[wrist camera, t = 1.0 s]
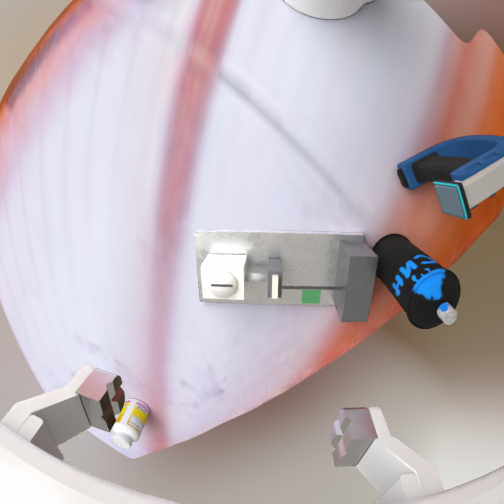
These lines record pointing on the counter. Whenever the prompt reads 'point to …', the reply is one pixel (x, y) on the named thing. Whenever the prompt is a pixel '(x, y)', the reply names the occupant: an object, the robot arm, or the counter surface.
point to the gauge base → (299, 267)
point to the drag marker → (275, 278)
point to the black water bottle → (417, 282)
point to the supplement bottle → (130, 423)
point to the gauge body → (226, 276)
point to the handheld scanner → (458, 171)
